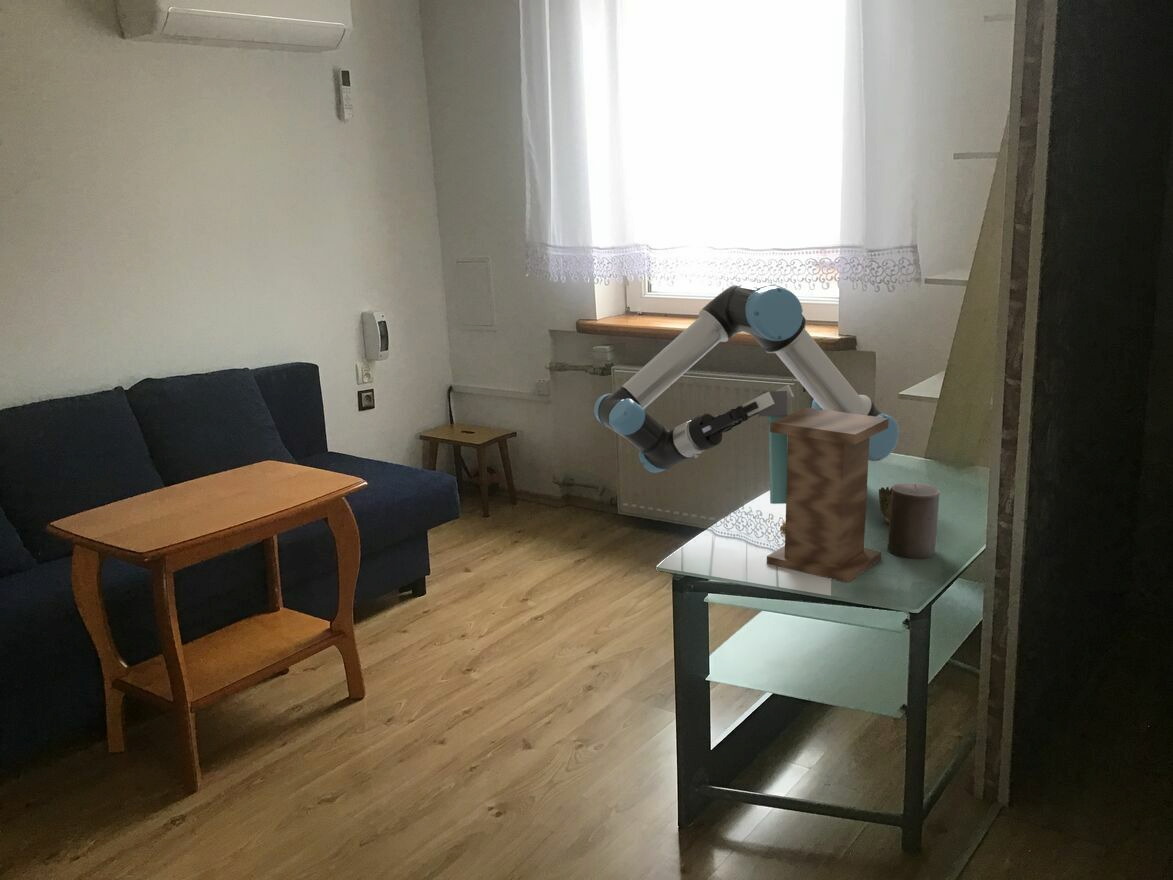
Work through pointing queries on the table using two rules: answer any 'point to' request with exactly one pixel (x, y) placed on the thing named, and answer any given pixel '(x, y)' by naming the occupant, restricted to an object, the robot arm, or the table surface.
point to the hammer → (777, 447)
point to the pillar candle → (913, 520)
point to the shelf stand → (826, 492)
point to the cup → (885, 502)
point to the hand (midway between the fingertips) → (780, 394)
